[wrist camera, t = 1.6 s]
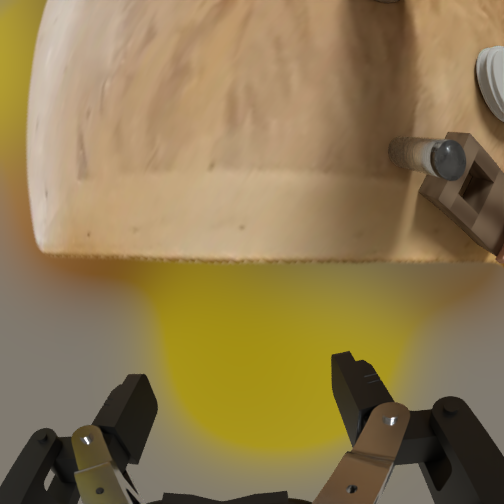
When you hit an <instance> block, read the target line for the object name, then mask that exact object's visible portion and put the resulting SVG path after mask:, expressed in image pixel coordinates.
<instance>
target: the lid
mask: <svg viewBox="0 0 504 504" xmlns="http://www.w3.org/2000/svg"><path fill="white" fill-rule="evenodd" d="M476 70H477V78H478V83H479V87H480V90H481V93H482V95H483V97H484V100H485V102H486V103H487V105H488V107H489V108H490V110H491V111H492V113H493V114H494V115H495V116H496V117H497V118H498V119H499V120H501V121H503V122H504V47H503V46H494V47H492V48H486V49H483V50H482V51H481V52H480V53H479V56H478V59H477V64H476Z"/></svg>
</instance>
